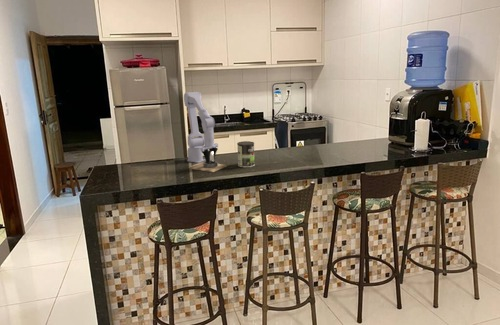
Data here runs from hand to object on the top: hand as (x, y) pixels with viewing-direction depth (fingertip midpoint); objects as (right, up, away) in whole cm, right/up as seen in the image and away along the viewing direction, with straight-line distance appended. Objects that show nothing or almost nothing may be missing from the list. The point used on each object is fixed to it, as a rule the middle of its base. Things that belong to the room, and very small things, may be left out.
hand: (210, 160), depth 220 cm
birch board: (-2, -4, +2) cm, 5 cm away
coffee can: (+22, -3, +5) cm, 22 cm away
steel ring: (0, -4, +1) cm, 4 cm away
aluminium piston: (0, -2, +1) cm, 2 cm away
